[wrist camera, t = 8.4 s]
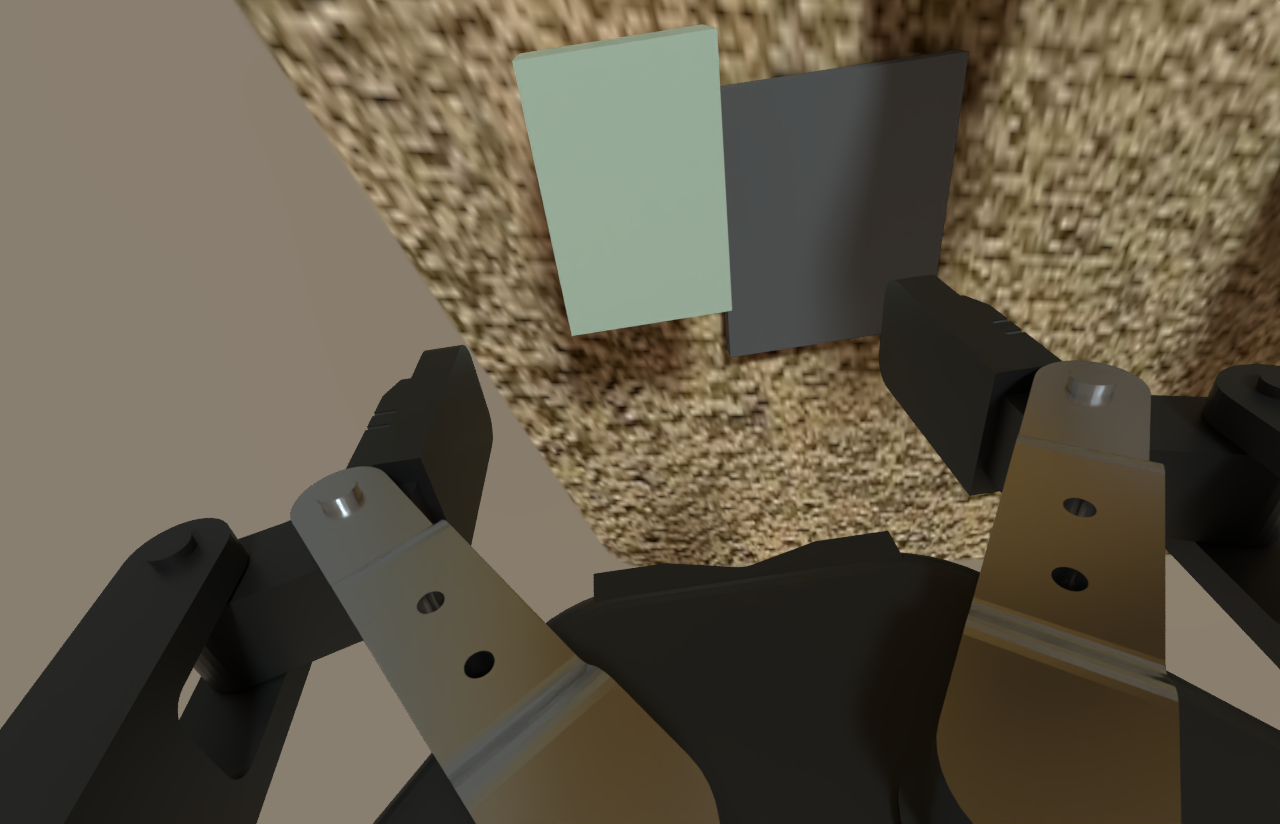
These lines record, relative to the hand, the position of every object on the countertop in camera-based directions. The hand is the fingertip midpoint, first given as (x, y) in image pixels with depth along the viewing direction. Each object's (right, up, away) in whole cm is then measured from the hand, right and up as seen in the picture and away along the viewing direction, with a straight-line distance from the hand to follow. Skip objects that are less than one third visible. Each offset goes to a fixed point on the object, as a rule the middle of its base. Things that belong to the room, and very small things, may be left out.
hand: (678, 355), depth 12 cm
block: (-1, +7, +11) cm, 13 cm away
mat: (+8, +8, +17) cm, 20 cm away
